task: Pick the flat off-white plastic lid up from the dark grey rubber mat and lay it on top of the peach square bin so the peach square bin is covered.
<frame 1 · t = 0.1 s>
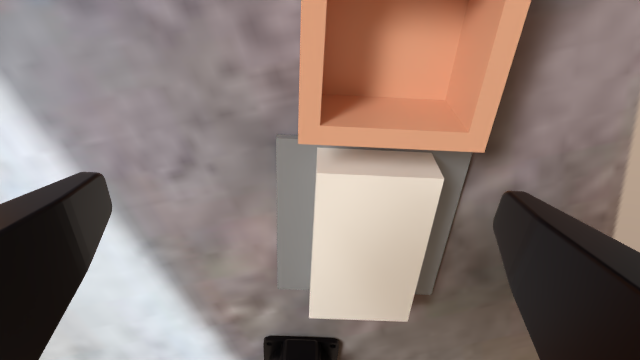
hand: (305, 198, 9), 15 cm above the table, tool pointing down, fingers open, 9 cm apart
peach square bin: (390, 28, 21), on the table
lid: (363, 226, 27), resting on mat
mat: (363, 222, 28), on the table
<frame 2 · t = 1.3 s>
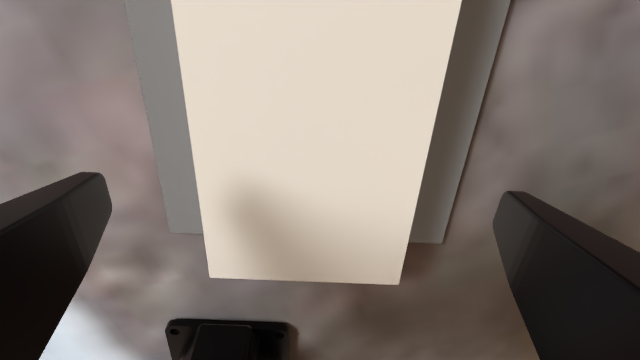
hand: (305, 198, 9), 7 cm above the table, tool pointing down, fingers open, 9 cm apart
lid: (312, 97, 14), resting on mat
mat: (313, 92, 14), on the table
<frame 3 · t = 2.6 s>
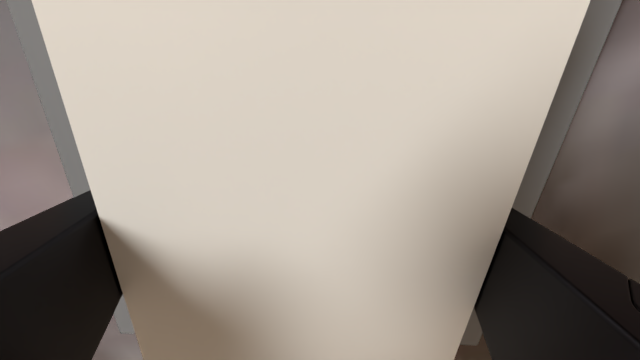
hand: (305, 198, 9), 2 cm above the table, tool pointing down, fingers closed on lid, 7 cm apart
lid: (306, 174, 10), resting on mat, touching gripper
mat: (307, 164, 10), on the table
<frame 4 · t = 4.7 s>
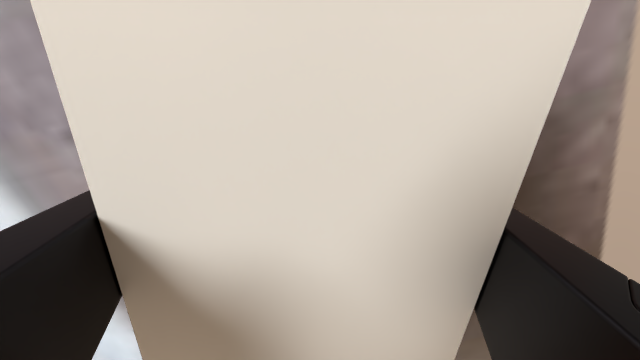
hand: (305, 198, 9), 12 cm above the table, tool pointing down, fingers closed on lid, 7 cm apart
lid: (306, 175, 10), point 11 cm above the table, touching gripper
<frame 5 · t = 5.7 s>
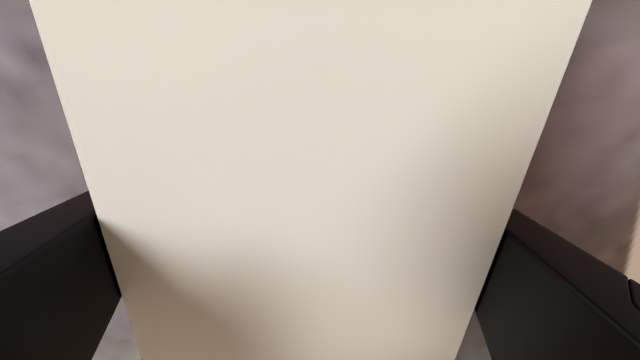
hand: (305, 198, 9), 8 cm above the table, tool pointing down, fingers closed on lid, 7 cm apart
lid: (306, 174, 10), point 7 cm above the table, touching gripper
when the fingers open (7 cm above the table, at t = 6.6 s): lid drops 1 cm, resting on peach square bin.
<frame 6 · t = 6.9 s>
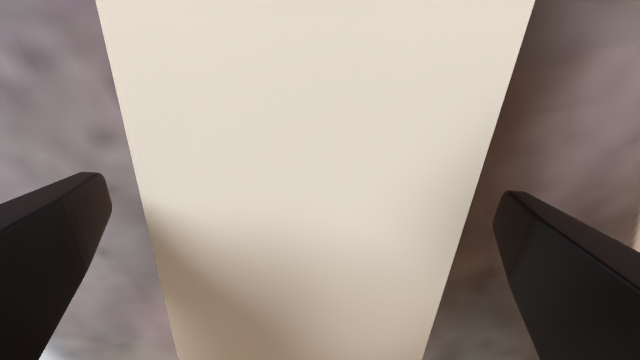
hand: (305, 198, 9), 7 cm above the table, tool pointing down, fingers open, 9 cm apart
lid: (309, 146, 11), point 5 cm above the table, touching peach square bin
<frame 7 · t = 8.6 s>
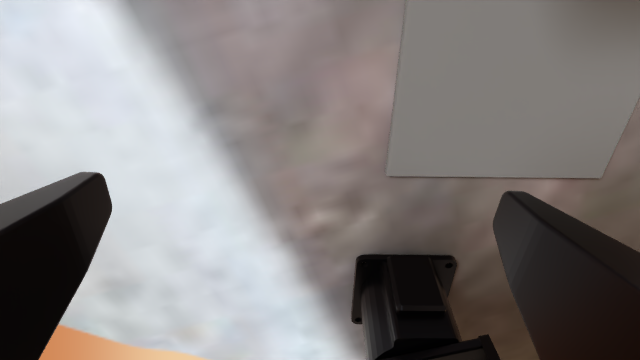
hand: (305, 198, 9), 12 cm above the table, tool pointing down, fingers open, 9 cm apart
mat: (524, 57, 19), on the table
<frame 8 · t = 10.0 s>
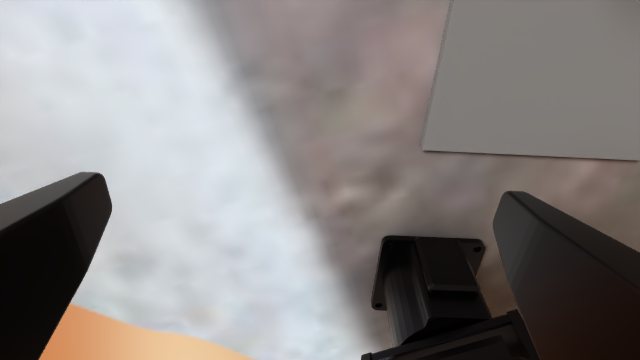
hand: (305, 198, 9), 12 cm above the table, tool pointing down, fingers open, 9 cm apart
mat: (574, 27, 18), on the table
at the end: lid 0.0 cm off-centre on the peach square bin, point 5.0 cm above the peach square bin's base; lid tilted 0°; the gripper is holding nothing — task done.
